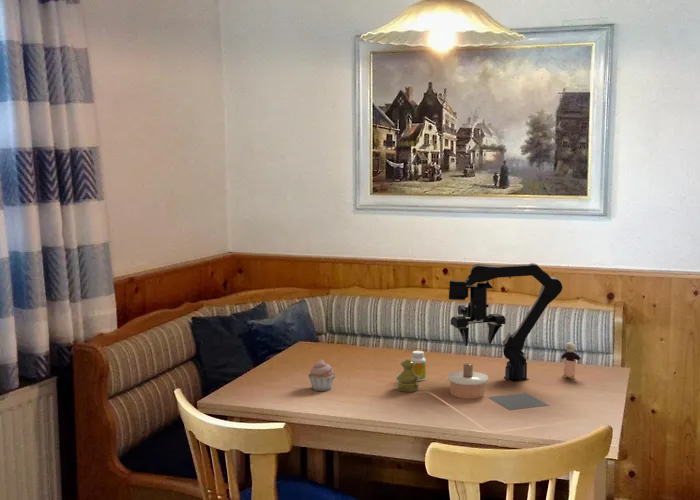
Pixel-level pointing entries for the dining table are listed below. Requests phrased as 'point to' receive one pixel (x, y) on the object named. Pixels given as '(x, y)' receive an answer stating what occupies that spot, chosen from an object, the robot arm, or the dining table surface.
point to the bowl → (467, 390)
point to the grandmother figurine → (570, 361)
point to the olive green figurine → (407, 378)
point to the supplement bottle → (419, 364)
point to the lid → (468, 376)
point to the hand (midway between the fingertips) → (477, 344)
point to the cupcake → (321, 376)
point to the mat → (518, 401)
